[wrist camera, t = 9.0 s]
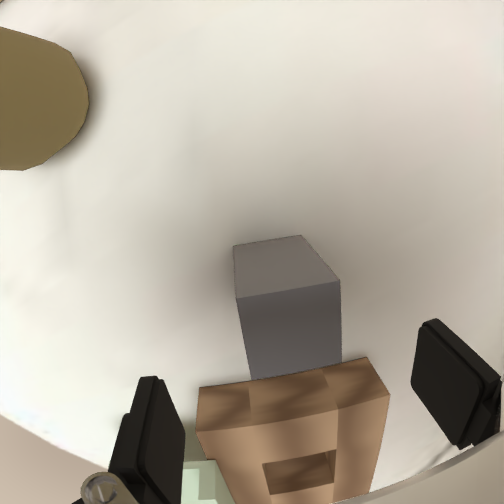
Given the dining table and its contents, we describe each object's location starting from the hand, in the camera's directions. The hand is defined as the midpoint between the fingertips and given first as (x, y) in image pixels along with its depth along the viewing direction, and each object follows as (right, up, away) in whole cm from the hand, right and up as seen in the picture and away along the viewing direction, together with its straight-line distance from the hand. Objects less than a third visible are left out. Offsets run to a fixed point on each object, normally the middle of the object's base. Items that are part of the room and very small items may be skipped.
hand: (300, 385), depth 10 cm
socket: (+2, -13, +16) cm, 21 cm away
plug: (0, +3, +11) cm, 12 cm away
